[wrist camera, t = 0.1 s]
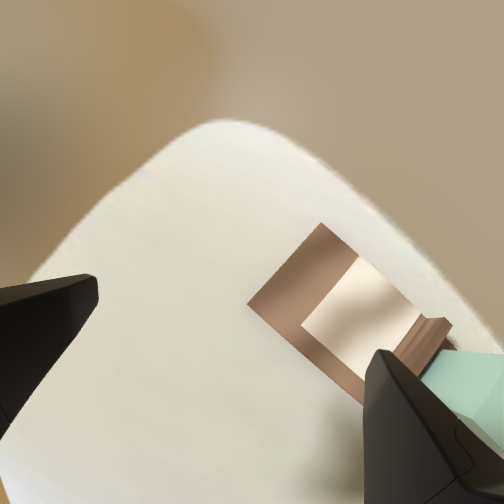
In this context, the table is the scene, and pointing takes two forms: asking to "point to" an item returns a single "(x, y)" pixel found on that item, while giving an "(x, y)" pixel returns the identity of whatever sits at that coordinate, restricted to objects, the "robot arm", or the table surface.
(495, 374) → the mint green block
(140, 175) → the table surface
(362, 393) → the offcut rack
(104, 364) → the table surface
